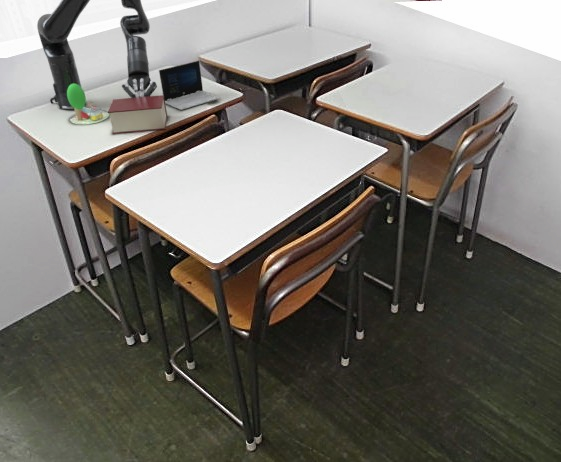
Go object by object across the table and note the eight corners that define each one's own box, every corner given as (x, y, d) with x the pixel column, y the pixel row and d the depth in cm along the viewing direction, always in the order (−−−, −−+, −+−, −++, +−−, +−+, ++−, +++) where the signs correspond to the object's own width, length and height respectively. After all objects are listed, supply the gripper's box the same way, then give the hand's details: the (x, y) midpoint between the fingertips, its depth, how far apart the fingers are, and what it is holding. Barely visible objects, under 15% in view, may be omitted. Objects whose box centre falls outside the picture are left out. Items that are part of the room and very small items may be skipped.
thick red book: (112, 134, 182) (107, 112, 178) (117, 120, 193) (113, 99, 188) (165, 129, 183) (161, 107, 179) (167, 116, 194) (163, 95, 190)
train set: (106, 81, 188) (68, 90, 181) (115, 117, 195) (78, 127, 189) (91, 73, 198) (54, 81, 191) (99, 107, 206) (64, 117, 199)
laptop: (180, 111, 198) (175, 76, 191) (164, 103, 206) (158, 70, 199) (220, 99, 208) (216, 66, 200) (202, 92, 216) (198, 60, 209)
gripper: (117, 61, 191) (120, 105, 188) (154, 58, 192) (157, 102, 189) (122, 71, 198) (125, 114, 195) (157, 68, 199) (161, 110, 196)
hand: (141, 108), depth 192 cm, fingers closed
